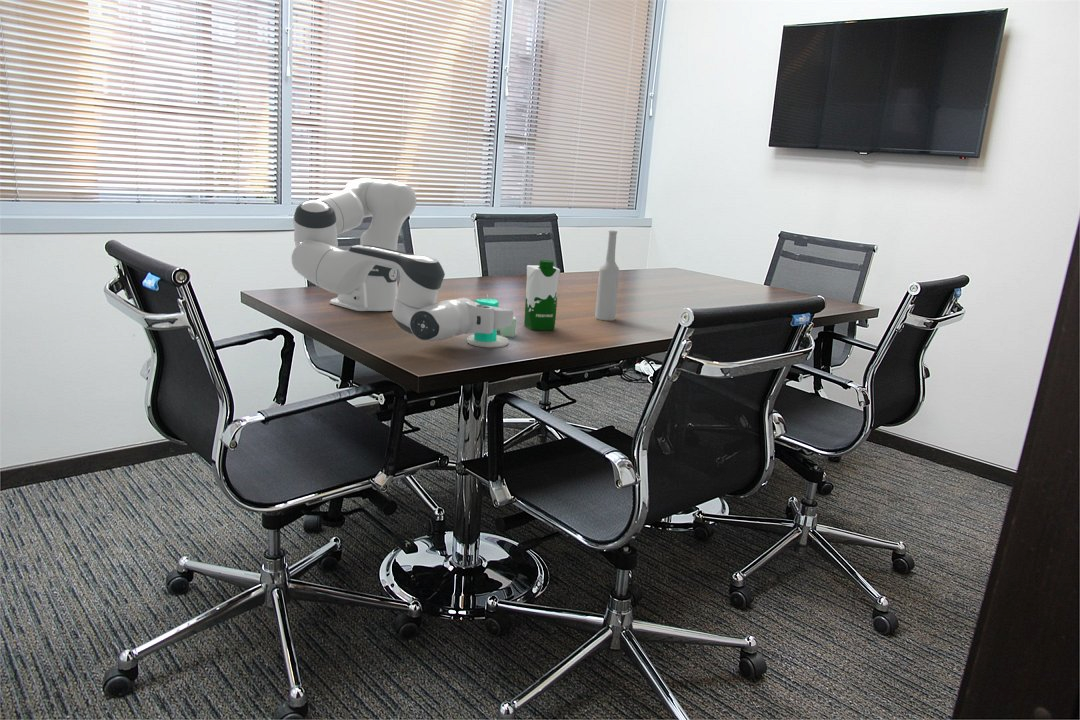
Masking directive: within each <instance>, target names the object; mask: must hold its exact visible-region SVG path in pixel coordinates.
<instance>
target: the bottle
mask: <svg viewBox="0 0 1080 720" xmlns="http://www.w3.org/2000/svg"><path fill="white" fill-rule="evenodd" d="M617 233H618V231H617V230H608V240H607V250H606V255H605V256H606V257H605V261H604V262H603V263H602V264H601V265H600V267H599V272H598V281H597V282H598V283H597V293H596V304H595V315H594V319H596V320H599V321H607V322H608V321H616V316H617V315H616V314H617V303H618V292H619V281H620V271H621V270H620V268H619V266H618V265H617V263H616V245H617Z"/></svg>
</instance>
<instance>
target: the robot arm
mask: <svg viewBox="0 0 1080 720" xmlns="http://www.w3.org/2000/svg"><path fill="white" fill-rule="evenodd" d="M416 196H417V195H416V192H415V190H414V189H413V188H412V187H411V186H410V185H408V184H406V183H403V182H400V181H397V180H390V179H378V178H369V177H362V178H355V179H352V180H349V181H348V182H347V183H346V184H345V186H344V188H343V190H342V189H341V190H340V191H336V192H334V193H330V194H328V195H325V196H322V197H320V198H318V199H306V200H305V201H302V202H301V203H300V204H298V206H297V207H296V209H295V210H294V211H295V212H294V215H293V219H292V221H293V227H294V229H293V230H294V234H293V239H294V243H295V245H294V249H293V251H292V254H291V260H290V261H291V265H292V267H293V269H294V270H295V271H296V273H297V274H299V275H301V277H303V279H305V280H307V281H309V282H310V283H312V284H313V285H315V286H317V287H319V288H321V289H323V290H326V291H328V292H330V293H332V294H336V295H337V297H334V298H332V299H330V301H329V304H331V305H335V306H337V307H342V308H346V309H350V310H352V311H356V312H388V311H390V312H391V311H392V313H391V315H392V318H393V320H394V321H395V323H396V324H397V325H398V327H399V328H400V329H401V330H403V331H405V332H407V333H408V334H411V335H413V336H414V337H416V338H417V339H419V340H421V341H423V342H424V341H425V342H436V341H437V342H439V341H444V340H447V339H451V338H453V337H454V336H455V337H456V336H461V335H469V334H470V335H471V334H474V333H482V334H490V333H492V332H493V330H497V329H501V328H504V327H507V326H509V325H511V324H512V323H513V316H514V310H513V309H510V308H505V307H502V306H501V307H500V306H498V307H492V306H487V305H481V304H478V303H476V301H473V300H472V299H470V298H469V297H468V298H467V297H459V298H455V299H445V300H442V301H439V302H437V300H438V295H439V292H440V289H441V286H442V283H443V281H444V278H445V271H444V268H443V266H442V265H441V263H440V261H439V260H438V259H436V258H435V257H432V256H428V255H422V254H413V253H408V252H403V251H399V250H398V240H399V235H400V231H401V229H402V227H403V224H404V223H405V221H406V219H407V218H408V217H409V216H411V215H412V214H413V212H414V211H415V208H416V206H417V197H416ZM369 217H371V222H370V225H369V226H368V228H367V229H366V230H364V231H363V232H361V233H362V234H361V236H360V238H359V239H360V243H359V244H356V245H352V246H350V247H349V249H347V250H344V249H341V248H339V246H338V245H339V241H338V235H341V234H343V233H346V232H348V231H351V230H354V229H356V228H358V227H359V226H361V224H362V223H363V220H364V219H366V218H369ZM398 275H399V276H400V279H399V283H398Z"/></svg>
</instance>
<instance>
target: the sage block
mask: <svg viewBox="0 0 1080 720" xmlns="http://www.w3.org/2000/svg"><path fill="white" fill-rule="evenodd" d="M516 327H517V318H516V316H515V315H513V323H512V324H511V325H509V326H507V327H504V328H501V329H500V330H499V336H503V337H514V338H515V337H516Z"/></svg>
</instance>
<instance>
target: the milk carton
mask: <svg viewBox="0 0 1080 720" xmlns="http://www.w3.org/2000/svg"><path fill="white" fill-rule="evenodd" d="M560 274H561V269H560V268H558V267H556V266H554V261H553V260H547V259H546V260H545V259H542V260H541V259H540V260H539V264H538V265H534V264H533V265H529V264H528V265H526V285H525V286H526V287H525V288H526V289H525V303H524V304H525V305H524V322H523V323H524V324H523V325H524V326H526V328H528V329H530V330H532V331H554V330H555V328H556V327H555V326H556V317H557V307H558V306H557V305H558V291H559V279H560V276H561V275H560Z"/></svg>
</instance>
